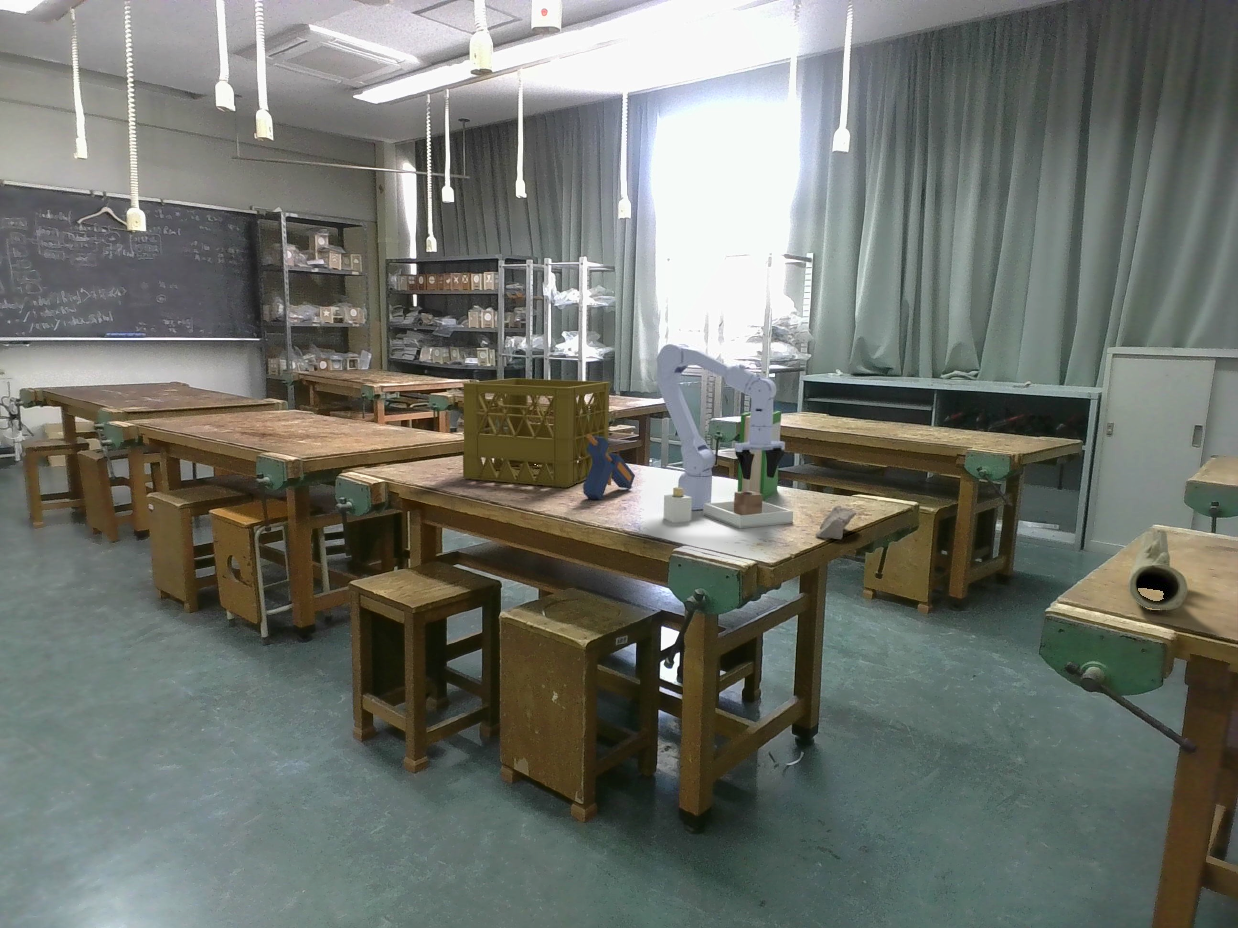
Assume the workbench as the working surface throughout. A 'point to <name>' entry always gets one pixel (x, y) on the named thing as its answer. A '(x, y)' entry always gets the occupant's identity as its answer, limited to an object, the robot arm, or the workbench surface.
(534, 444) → the milk crate
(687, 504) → the pale grey block
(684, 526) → the workbench surface
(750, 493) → the walnut block
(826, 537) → the concrete fragment
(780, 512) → the tray
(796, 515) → the workbench surface
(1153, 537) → the pipe
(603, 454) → the glue gun
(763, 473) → the hardback book
